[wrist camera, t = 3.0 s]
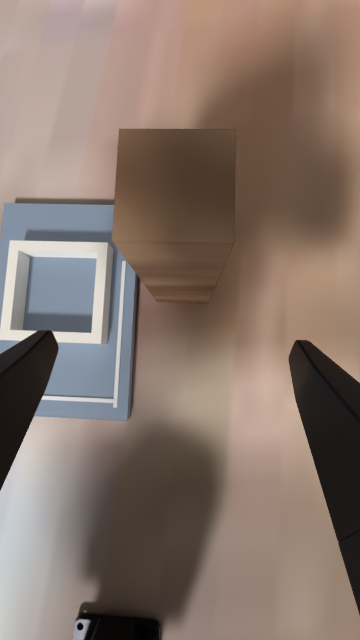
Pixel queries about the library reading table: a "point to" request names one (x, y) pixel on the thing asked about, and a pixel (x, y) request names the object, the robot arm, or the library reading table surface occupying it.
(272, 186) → the library reading table surface
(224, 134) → the walnut column
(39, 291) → the blueprint board
